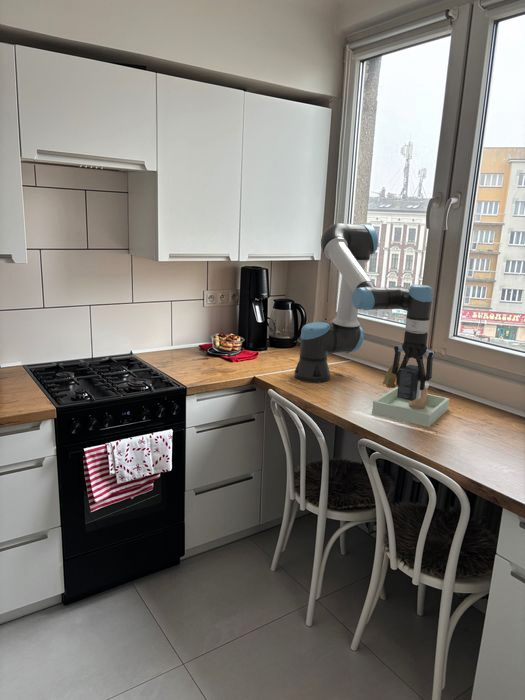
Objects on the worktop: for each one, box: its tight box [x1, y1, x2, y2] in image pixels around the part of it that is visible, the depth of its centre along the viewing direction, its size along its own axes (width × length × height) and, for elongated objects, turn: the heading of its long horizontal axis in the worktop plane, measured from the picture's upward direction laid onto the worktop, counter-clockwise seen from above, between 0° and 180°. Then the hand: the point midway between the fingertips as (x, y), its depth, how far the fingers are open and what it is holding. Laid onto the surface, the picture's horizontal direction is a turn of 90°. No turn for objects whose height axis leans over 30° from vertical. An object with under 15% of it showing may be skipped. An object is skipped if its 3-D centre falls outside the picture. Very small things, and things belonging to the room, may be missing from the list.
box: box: [397, 364, 422, 401], centre depth 184 cm, size 8×6×11 cm
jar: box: [409, 381, 430, 409], centre depth 195 cm, size 7×7×9 cm
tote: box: [371, 386, 450, 428], centre depth 190 cm, size 20×22×5 cm
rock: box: [382, 363, 401, 389], centre depth 221 cm, size 11×9×10 cm
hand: (408, 396), depth 186 cm, fingers closed on box, 6 cm apart
